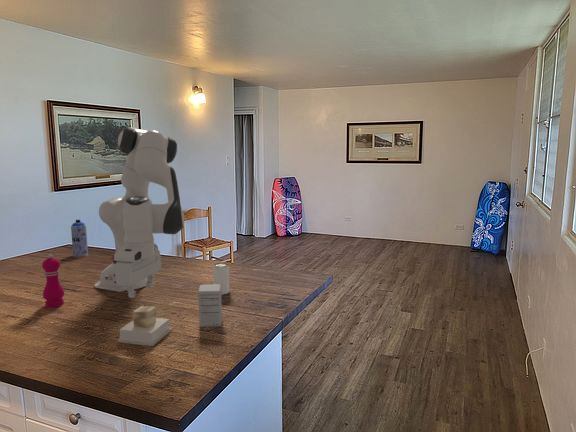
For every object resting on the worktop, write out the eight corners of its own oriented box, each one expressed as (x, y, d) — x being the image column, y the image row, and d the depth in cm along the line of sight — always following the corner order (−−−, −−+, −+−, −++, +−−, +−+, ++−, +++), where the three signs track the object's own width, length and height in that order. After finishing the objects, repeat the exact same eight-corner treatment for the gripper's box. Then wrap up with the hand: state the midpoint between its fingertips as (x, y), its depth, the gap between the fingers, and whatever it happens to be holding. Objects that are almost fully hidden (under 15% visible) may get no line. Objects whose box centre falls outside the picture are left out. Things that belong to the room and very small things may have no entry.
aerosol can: (69, 256, 240) (66, 220, 237) (78, 253, 248) (76, 218, 245) (82, 257, 239) (80, 221, 236) (91, 253, 247) (88, 218, 244)
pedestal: (117, 342, 136) (117, 330, 135) (139, 326, 147) (138, 315, 147) (152, 346, 133) (152, 333, 132) (171, 330, 145) (171, 318, 144)
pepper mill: (43, 309, 163) (38, 257, 160) (44, 303, 169) (39, 253, 166) (65, 306, 166) (61, 255, 163) (65, 300, 172) (61, 251, 169)
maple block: (133, 326, 138) (132, 311, 137) (142, 320, 142) (141, 305, 142) (148, 328, 137) (147, 312, 136) (156, 321, 141) (155, 307, 141)
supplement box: (201, 318, 154) (200, 284, 152) (222, 318, 155) (221, 283, 153) (198, 327, 147) (197, 291, 145) (221, 326, 148) (220, 290, 146)
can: (226, 295, 178) (225, 267, 176) (211, 294, 179) (210, 266, 177) (231, 290, 184) (231, 263, 182) (217, 289, 185) (216, 262, 183)
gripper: (148, 241, 146) (150, 281, 148) (110, 256, 127) (112, 302, 129) (165, 242, 145) (166, 282, 147) (129, 258, 125) (131, 304, 127)
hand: (141, 292), depth 138 cm, fingers open, 8 cm apart
